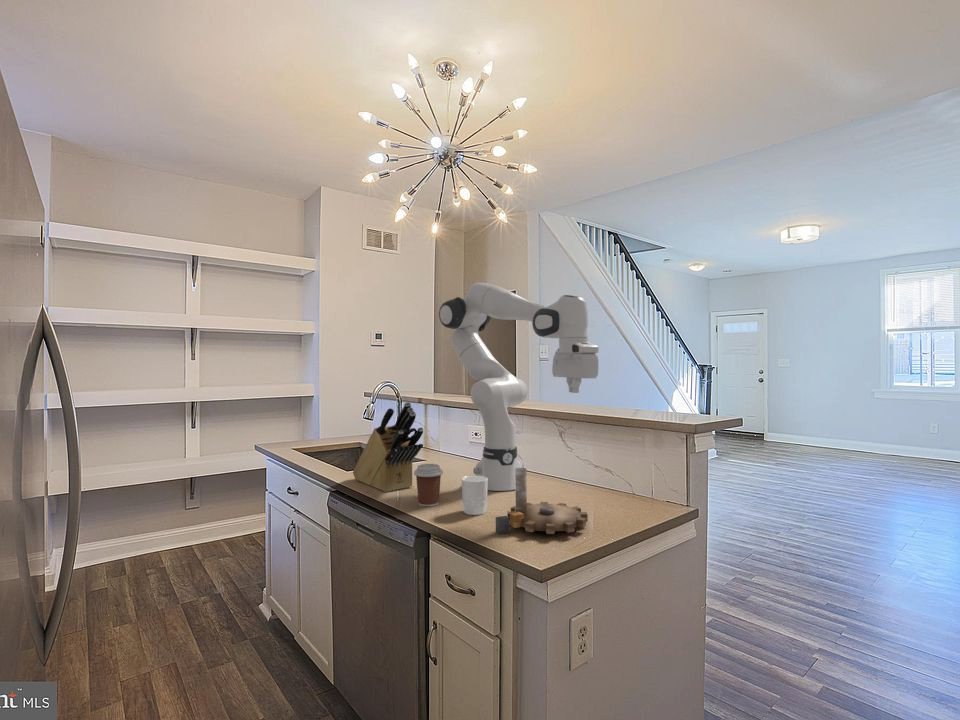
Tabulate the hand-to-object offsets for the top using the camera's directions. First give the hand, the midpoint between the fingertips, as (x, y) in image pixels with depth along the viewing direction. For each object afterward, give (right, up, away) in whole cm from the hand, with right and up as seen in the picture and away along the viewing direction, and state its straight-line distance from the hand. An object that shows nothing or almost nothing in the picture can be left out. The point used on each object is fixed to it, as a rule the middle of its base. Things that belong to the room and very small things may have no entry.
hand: (573, 392), depth 156 cm
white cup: (-30, -36, -5) cm, 47 cm away
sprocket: (-11, -34, -18) cm, 39 cm away
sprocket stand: (-16, -35, -20) cm, 43 cm away
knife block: (-62, -36, +28) cm, 77 cm away
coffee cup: (-45, -36, +4) cm, 58 cm away
